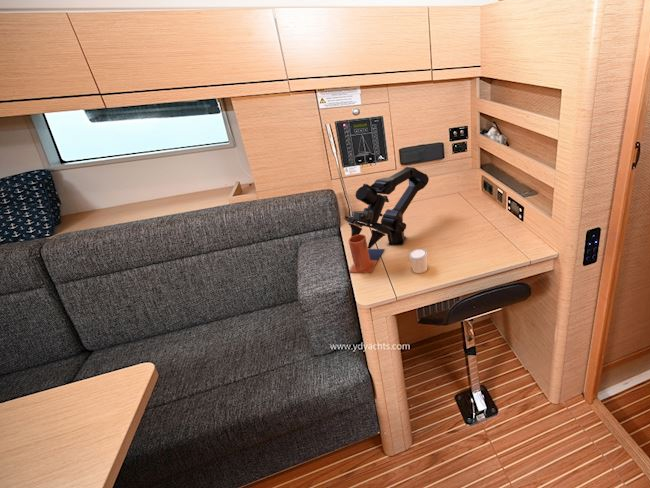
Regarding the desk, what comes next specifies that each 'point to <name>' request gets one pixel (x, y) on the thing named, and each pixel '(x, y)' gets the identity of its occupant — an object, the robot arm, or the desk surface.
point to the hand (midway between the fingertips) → (360, 245)
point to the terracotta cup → (360, 252)
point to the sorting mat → (374, 259)
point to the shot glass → (418, 260)
